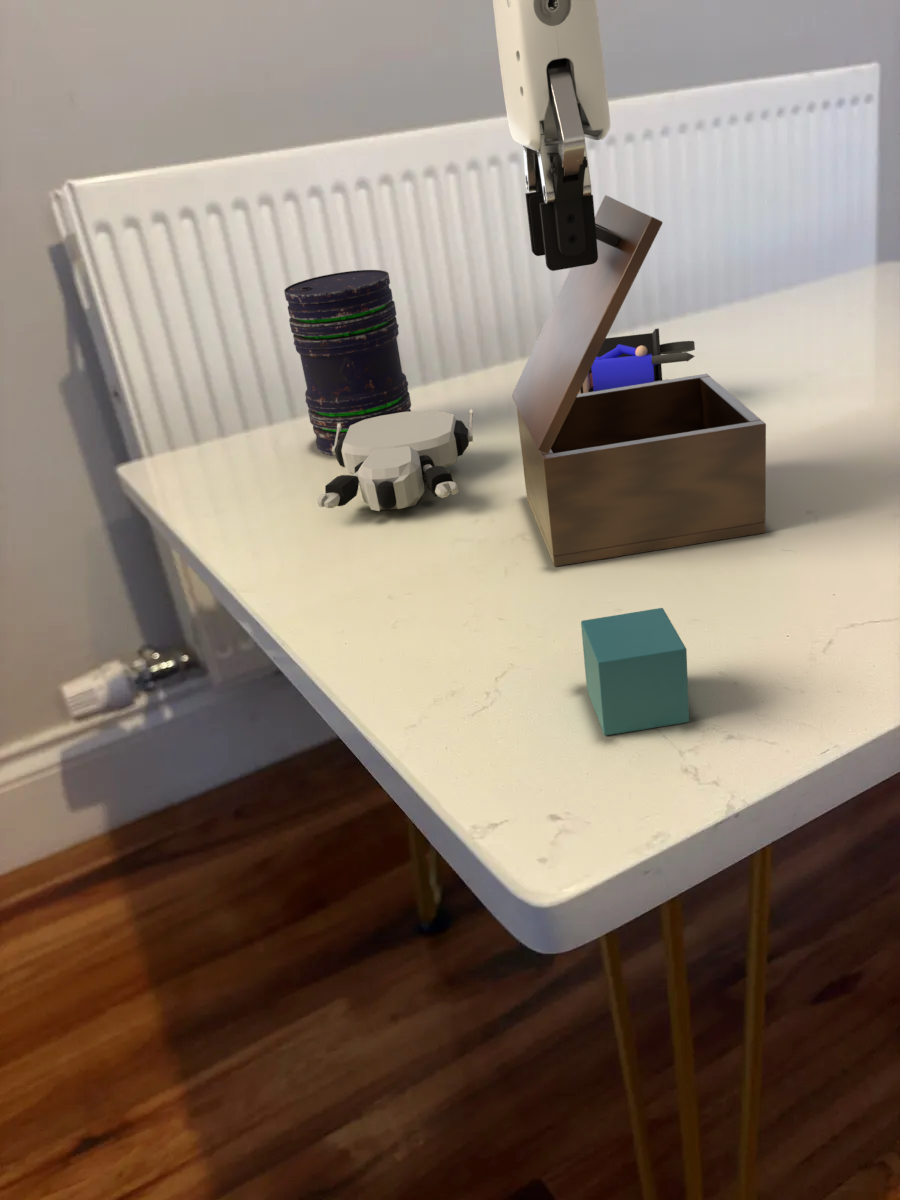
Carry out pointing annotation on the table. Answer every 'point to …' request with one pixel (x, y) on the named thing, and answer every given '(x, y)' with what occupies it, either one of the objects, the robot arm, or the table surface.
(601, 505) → the box
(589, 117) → the robot arm
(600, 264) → the lid
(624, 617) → the cube
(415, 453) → the robot toy
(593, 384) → the character figurine
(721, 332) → the table surface
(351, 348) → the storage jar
